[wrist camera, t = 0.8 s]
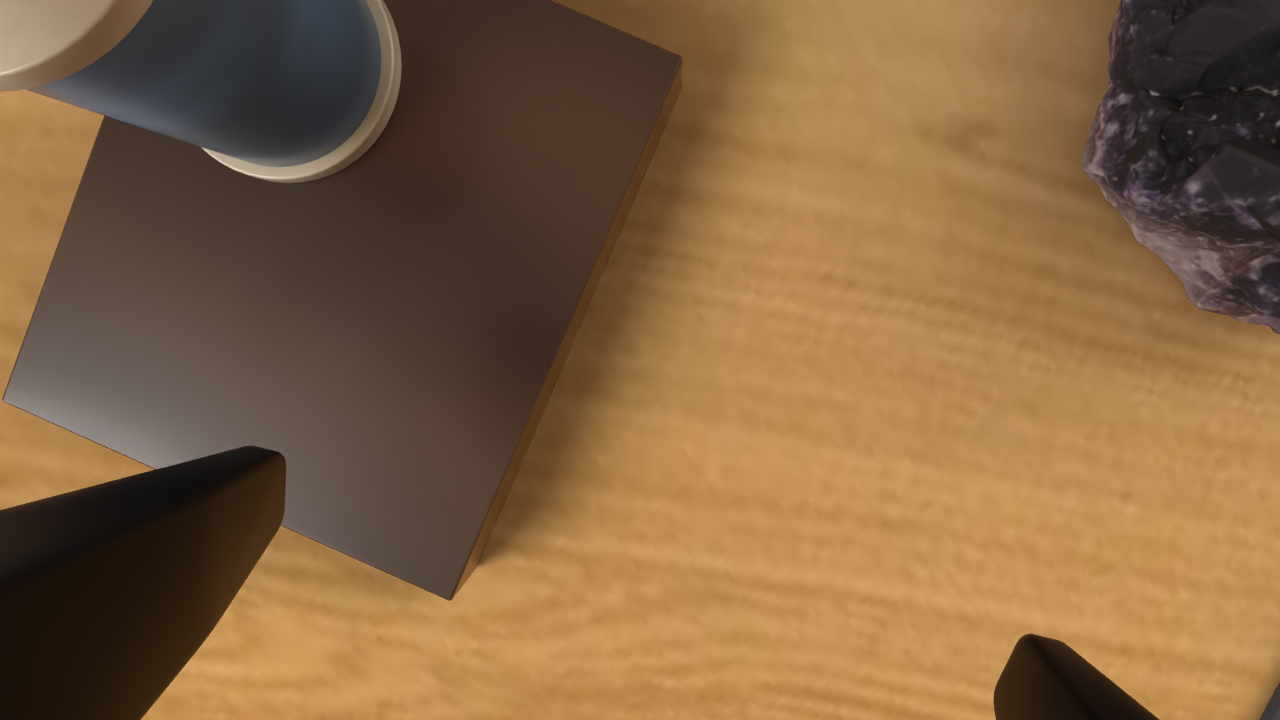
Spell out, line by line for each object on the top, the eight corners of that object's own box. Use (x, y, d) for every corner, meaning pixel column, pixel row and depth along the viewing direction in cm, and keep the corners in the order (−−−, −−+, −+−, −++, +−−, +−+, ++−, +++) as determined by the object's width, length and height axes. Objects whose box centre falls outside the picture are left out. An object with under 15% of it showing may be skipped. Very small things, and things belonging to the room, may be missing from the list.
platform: (475, 569, 23) (450, 602, 20) (73, 390, 23) (-1, 401, 20) (683, 85, 21) (683, 56, 19) (254, -100, 21) (199, -153, 19)
